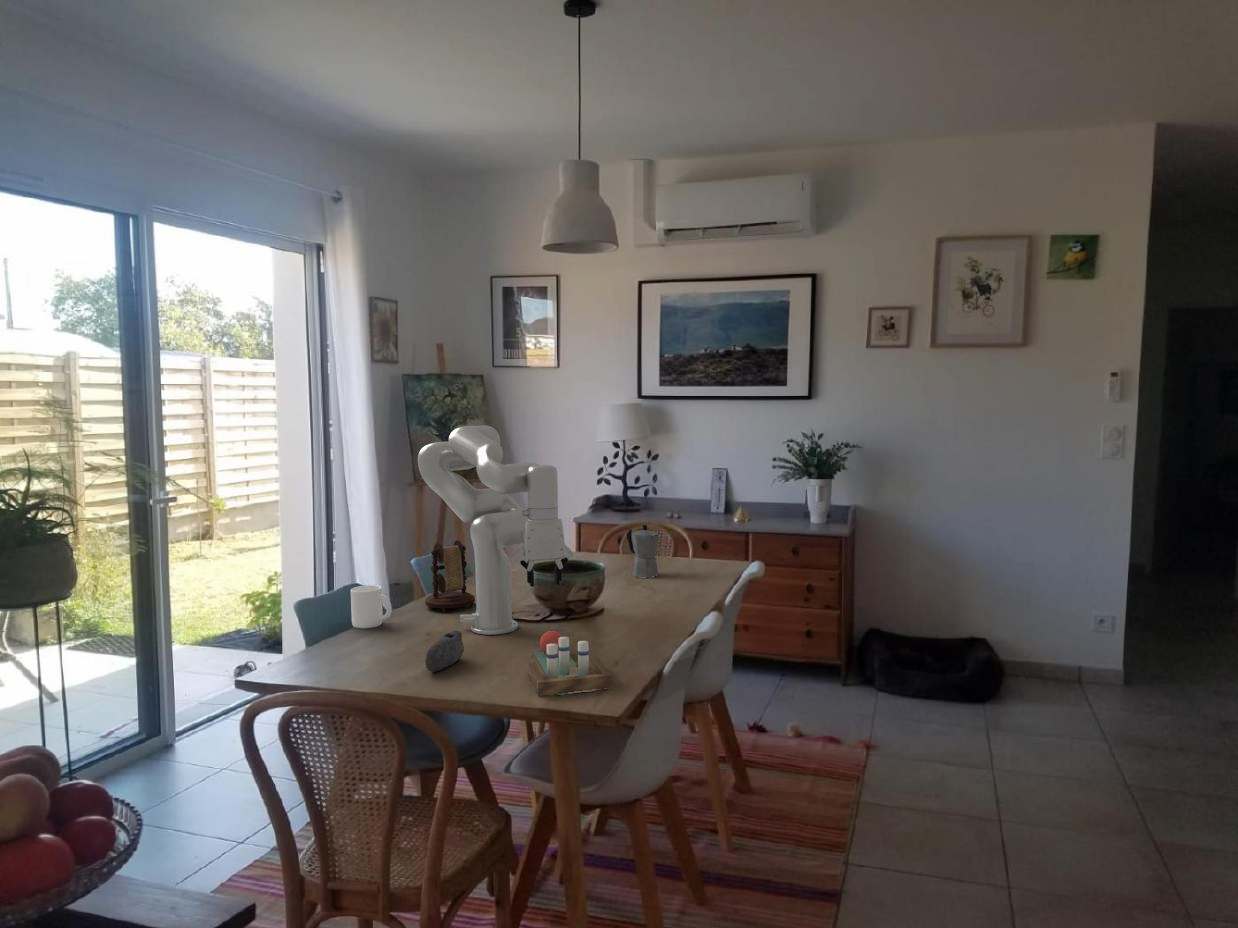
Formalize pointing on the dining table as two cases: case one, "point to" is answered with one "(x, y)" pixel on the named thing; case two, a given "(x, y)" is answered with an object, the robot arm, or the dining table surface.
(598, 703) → the dining table surface
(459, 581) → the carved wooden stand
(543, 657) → the strip
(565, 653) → the pin front
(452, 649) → the perforated stone tool
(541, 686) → the backstop
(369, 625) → the mug
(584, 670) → the pin right
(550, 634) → the ball
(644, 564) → the coffeepot
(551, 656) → the pin left
